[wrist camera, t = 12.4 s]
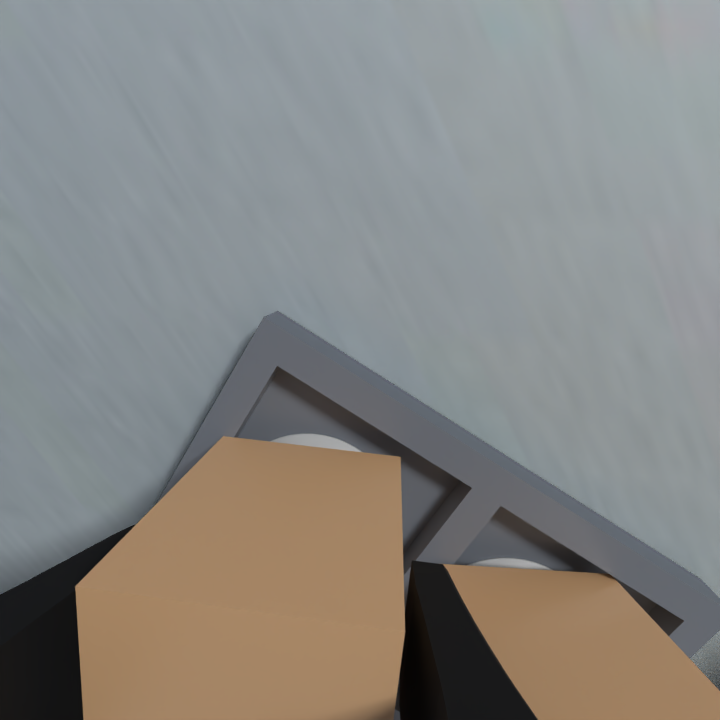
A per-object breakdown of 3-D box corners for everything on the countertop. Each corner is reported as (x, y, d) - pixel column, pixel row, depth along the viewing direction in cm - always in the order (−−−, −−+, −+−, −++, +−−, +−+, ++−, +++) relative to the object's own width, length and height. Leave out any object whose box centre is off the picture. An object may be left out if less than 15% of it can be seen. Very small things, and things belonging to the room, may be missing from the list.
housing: (141, 545, 13) (115, 574, 12) (278, 310, 11) (263, 316, 10) (515, 766, 13) (526, 814, 12) (700, 579, 12) (734, 614, 11)
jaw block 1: (219, 588, 11) (90, 830, 7) (223, 436, 11) (75, 586, 6) (382, 610, 11) (371, 878, 6) (400, 456, 10) (405, 631, 5)
